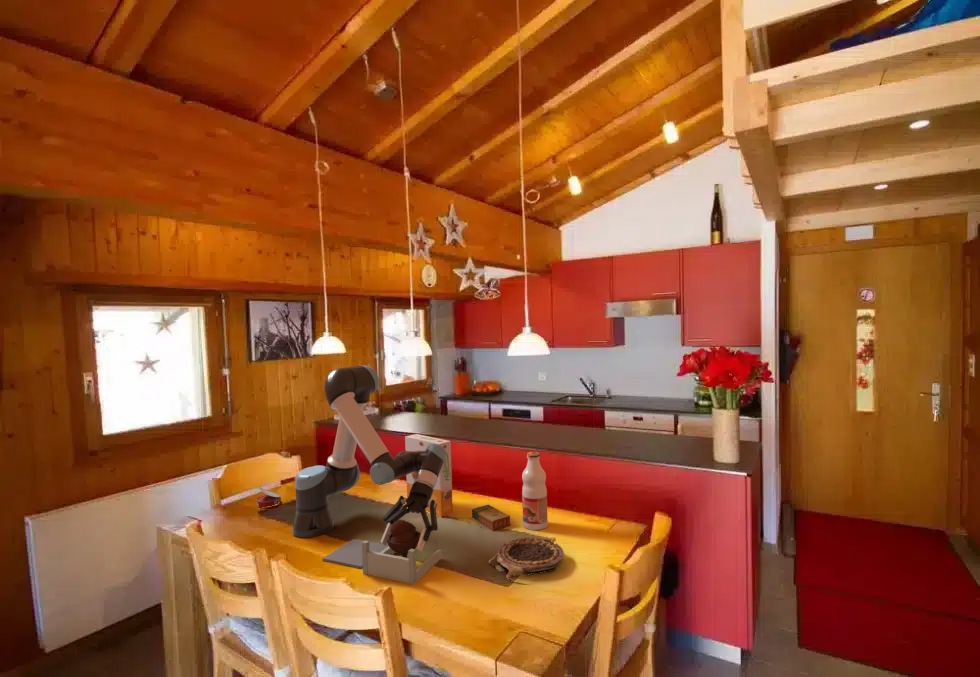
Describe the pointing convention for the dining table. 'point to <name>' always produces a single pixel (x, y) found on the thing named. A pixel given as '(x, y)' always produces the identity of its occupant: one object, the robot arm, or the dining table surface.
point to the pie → (528, 556)
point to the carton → (491, 517)
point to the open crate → (396, 564)
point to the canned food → (268, 498)
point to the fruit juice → (534, 494)
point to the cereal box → (444, 481)
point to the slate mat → (352, 553)
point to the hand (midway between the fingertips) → (400, 547)
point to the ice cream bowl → (403, 537)
